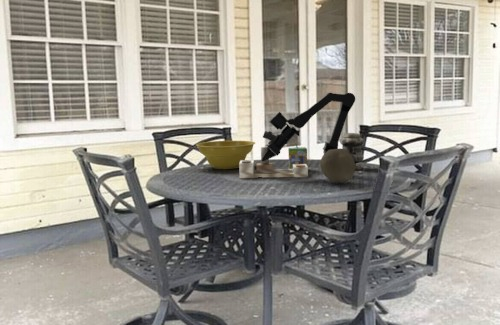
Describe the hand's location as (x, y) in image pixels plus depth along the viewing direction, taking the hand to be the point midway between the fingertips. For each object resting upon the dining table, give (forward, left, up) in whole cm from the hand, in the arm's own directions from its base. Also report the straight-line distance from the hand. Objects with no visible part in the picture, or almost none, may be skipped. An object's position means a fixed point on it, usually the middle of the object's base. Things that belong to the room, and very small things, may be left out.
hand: (262, 160), depth 244 cm
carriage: (0, -1, -4) cm, 4 cm away
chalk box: (+12, -21, -8) cm, 26 cm away
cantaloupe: (-33, -25, -8) cm, 43 cm away
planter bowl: (+37, +12, -8) cm, 39 cm away
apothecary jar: (+7, -48, -8) cm, 49 cm away
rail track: (-1, -5, -8) cm, 9 cm away
